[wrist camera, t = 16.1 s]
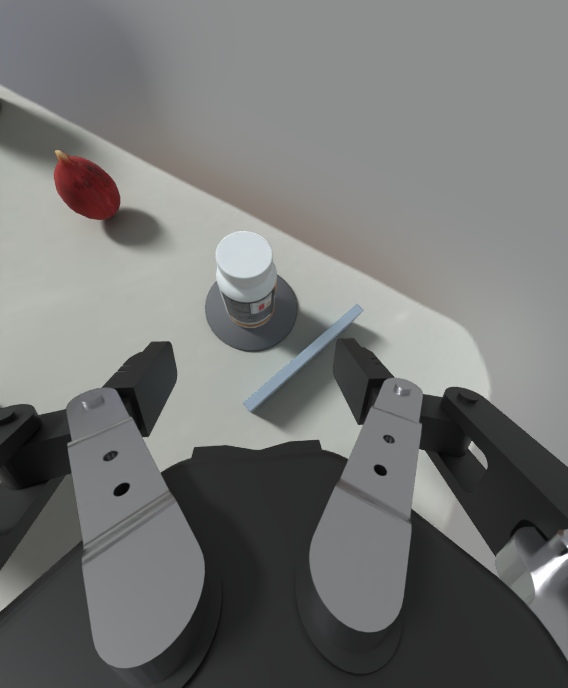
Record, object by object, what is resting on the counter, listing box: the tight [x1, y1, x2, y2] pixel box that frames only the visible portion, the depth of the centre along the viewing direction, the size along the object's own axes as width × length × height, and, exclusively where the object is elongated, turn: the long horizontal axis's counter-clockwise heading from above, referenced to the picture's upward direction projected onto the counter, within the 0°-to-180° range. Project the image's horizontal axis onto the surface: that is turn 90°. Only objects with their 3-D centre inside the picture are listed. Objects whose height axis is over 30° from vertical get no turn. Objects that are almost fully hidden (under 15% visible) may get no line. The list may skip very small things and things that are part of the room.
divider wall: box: [243, 304, 363, 413], centre depth 26 cm, size 16×1×4 cm, turn 132°
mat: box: [205, 275, 297, 351], centre depth 29 cm, size 11×11×1 cm
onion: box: [54, 150, 120, 220], centre depth 28 cm, size 6×6×8 cm
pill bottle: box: [216, 231, 277, 328], centre depth 24 cm, size 6×6×10 cm
